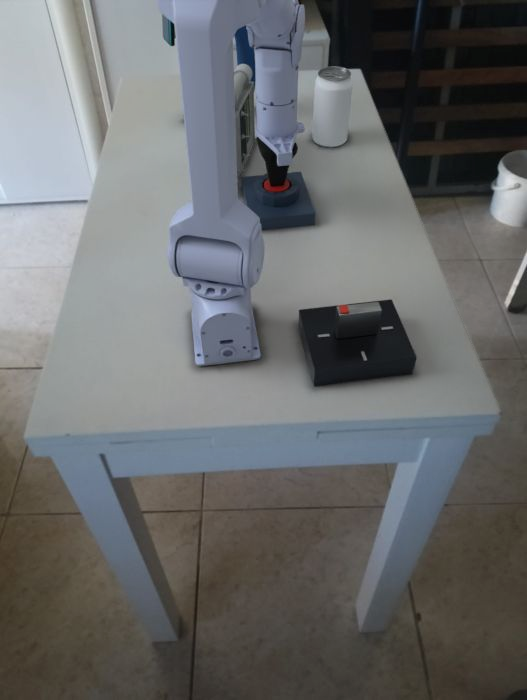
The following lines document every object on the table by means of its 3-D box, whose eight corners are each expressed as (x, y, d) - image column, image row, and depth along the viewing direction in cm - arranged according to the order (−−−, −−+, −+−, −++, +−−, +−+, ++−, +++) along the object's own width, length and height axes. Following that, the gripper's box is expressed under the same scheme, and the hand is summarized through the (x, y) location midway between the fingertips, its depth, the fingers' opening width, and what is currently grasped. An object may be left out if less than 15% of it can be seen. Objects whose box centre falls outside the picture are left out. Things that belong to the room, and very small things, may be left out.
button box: (314, 225, 88) (316, 203, 85) (250, 231, 87) (249, 209, 84) (300, 183, 96) (301, 161, 93) (241, 188, 95) (240, 167, 92)
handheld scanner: (173, 121, 111) (158, 10, 96) (248, 104, 116) (245, -5, 101) (180, 131, 109) (167, 19, 94) (257, 114, 113) (256, 3, 98)
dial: (374, 325, 69) (378, 299, 66) (377, 334, 68) (382, 308, 65) (333, 330, 69) (336, 304, 66) (336, 339, 68) (339, 313, 65)
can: (345, 149, 103) (352, 82, 94) (310, 147, 104) (313, 80, 95) (348, 132, 107) (354, 66, 98) (313, 130, 108) (317, 64, 99)
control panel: (388, 315, 75) (392, 298, 72) (412, 374, 68) (417, 356, 66) (298, 326, 74) (298, 308, 71) (313, 386, 67) (314, 369, 65)
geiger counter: (231, 117, 82) (265, 50, 99) (189, 113, 83) (230, 47, 100) (236, 200, 93) (266, 127, 109) (198, 196, 94) (234, 124, 110)
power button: (291, 199, 89) (291, 189, 87) (266, 201, 88) (265, 192, 87) (287, 185, 91) (287, 175, 90) (262, 187, 91) (262, 178, 90)
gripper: (316, 118, 74) (311, 208, 84) (296, 72, 84) (293, 157, 94) (262, 123, 73) (264, 212, 84) (248, 76, 83) (251, 161, 93)
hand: (276, 183), depth 89 cm, fingers closed, pressing on power button
